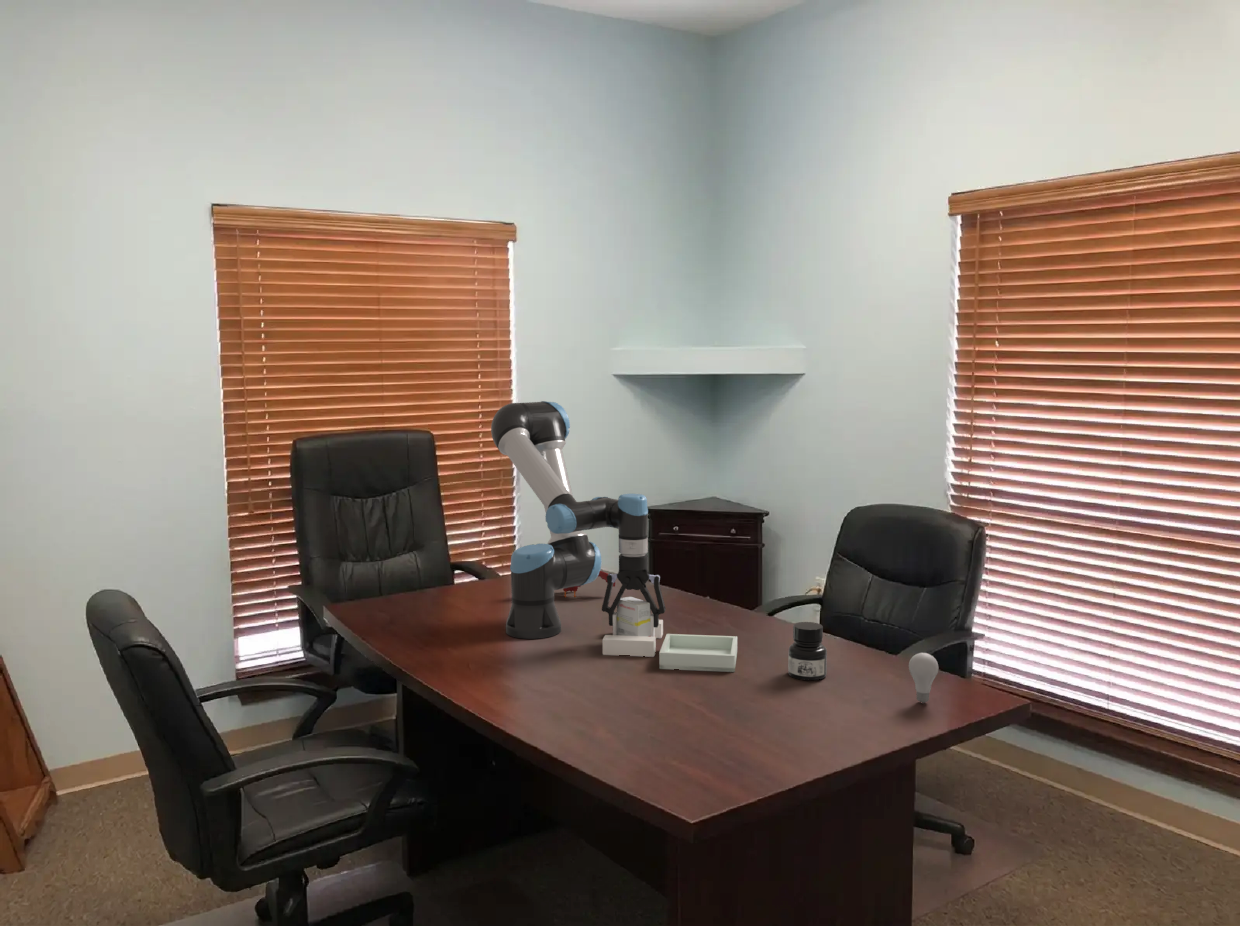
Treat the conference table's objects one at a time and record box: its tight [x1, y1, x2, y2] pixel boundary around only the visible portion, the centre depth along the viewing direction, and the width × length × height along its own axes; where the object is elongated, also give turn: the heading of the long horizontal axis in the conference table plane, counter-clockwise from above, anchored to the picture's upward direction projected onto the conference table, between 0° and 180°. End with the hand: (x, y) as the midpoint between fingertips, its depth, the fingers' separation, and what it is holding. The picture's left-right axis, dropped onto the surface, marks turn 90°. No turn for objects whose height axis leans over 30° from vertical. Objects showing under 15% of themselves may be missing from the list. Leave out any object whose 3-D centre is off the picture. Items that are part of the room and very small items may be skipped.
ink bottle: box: [787, 621, 828, 681], centre depth 227 cm, size 10×9×12 cm
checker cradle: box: [602, 619, 664, 658], centre depth 253 cm, size 13×20×4 cm, turn 171°
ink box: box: [616, 596, 652, 637], centre depth 252 cm, size 9×5×12 cm, turn 39°
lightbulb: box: [908, 652, 940, 704], centre depth 208 cm, size 6×6×11 cm
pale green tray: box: [658, 633, 738, 673], centre depth 239 cm, size 18×16×4 cm
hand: (633, 638), depth 253 cm, fingers closed on ink box, 9 cm apart
